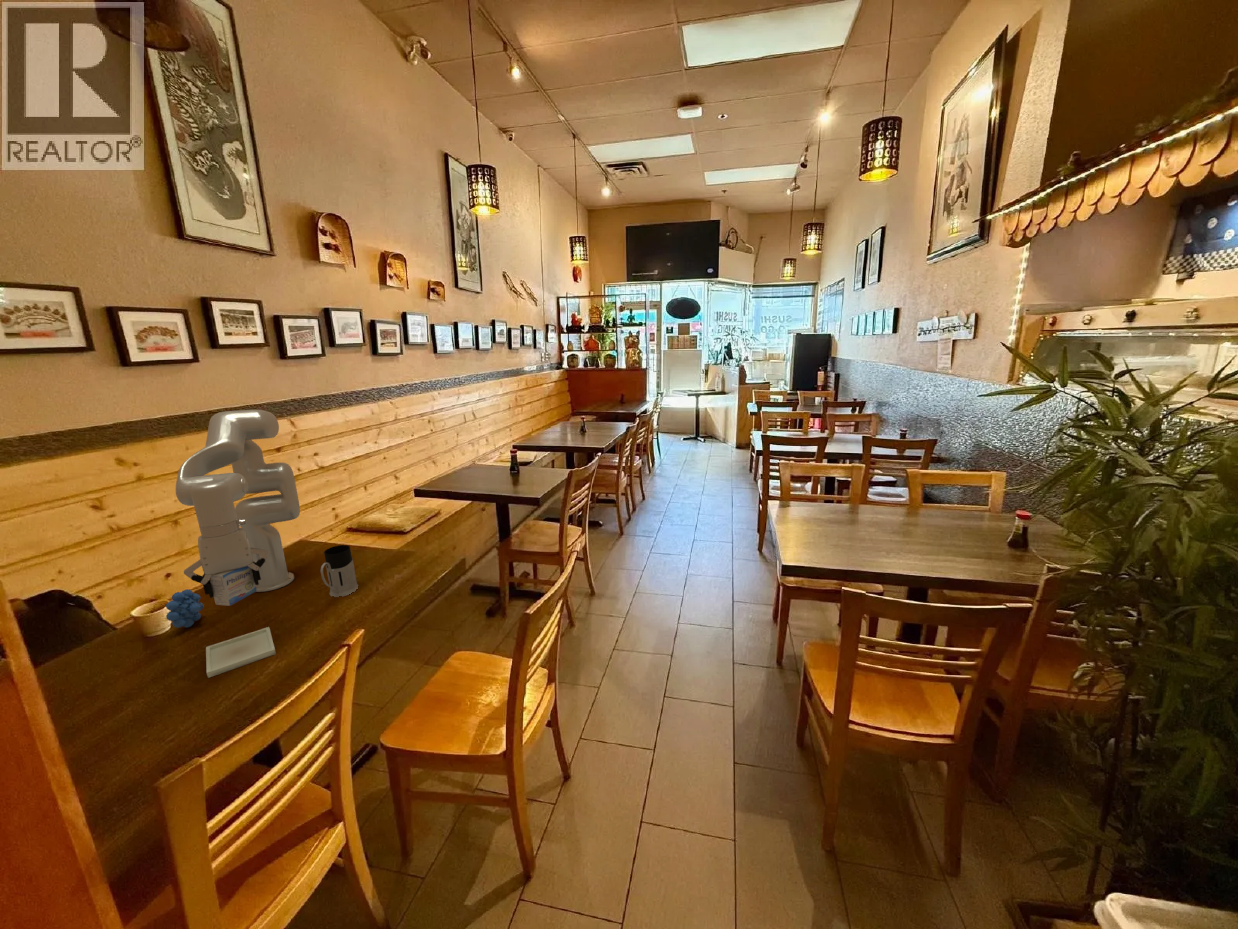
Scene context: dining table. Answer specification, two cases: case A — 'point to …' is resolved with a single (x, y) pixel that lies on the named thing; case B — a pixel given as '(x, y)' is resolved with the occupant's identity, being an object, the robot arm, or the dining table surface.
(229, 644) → the tray
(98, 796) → the dining table surface
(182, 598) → the grapes
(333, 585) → the glass holder
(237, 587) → the medicine box
